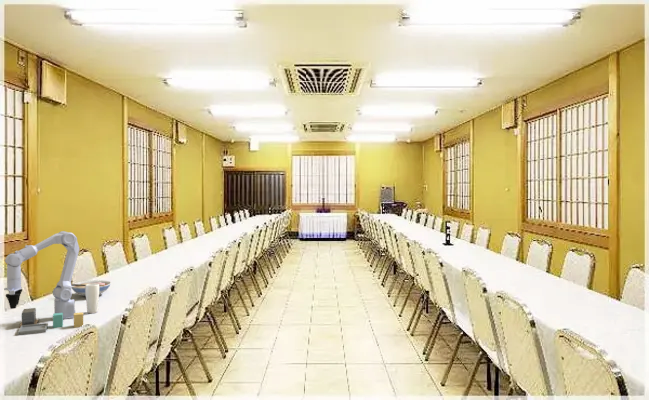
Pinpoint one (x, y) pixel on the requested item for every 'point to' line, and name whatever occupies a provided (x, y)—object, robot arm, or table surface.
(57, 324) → the teal block
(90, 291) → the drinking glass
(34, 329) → the slate tray
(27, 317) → the silver unit
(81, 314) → the ochre block
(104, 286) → the ramen bowl
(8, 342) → the table surface
